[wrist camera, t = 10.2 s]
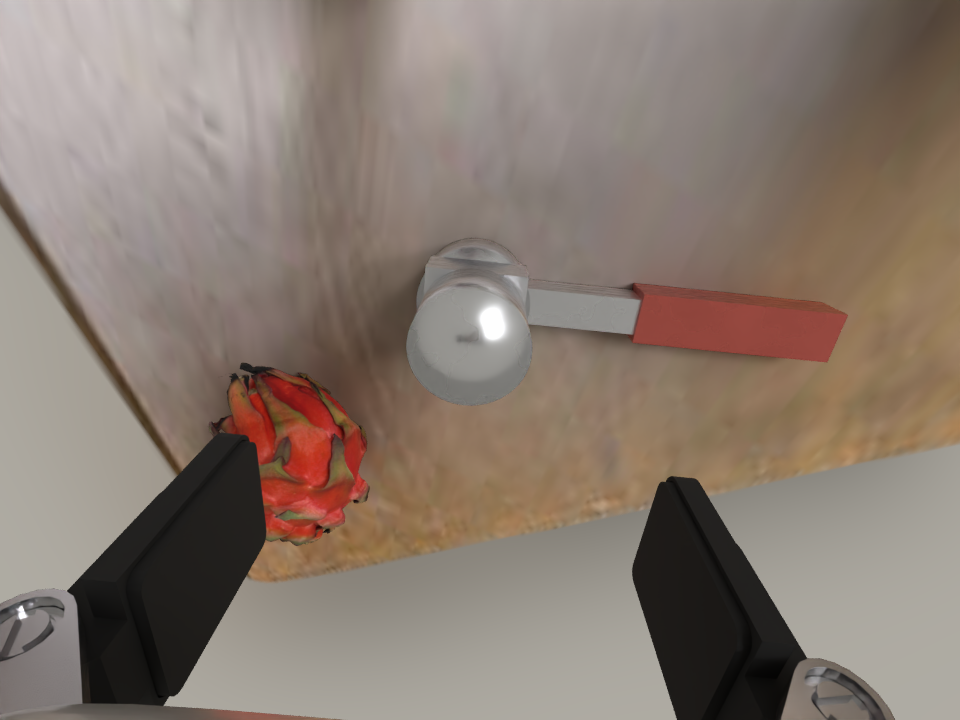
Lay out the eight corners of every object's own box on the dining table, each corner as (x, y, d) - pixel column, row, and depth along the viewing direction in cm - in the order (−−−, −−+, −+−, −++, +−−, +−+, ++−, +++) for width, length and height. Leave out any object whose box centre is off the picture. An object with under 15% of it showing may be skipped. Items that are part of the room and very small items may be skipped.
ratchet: (833, 275, 27) (903, 302, 22) (793, 370, 29) (849, 412, 25) (426, 232, 26) (412, 251, 22) (421, 333, 29) (407, 369, 24)
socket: (530, 261, 24) (541, 296, 19) (516, 355, 26) (523, 411, 21) (427, 251, 24) (408, 283, 19) (422, 345, 26) (404, 399, 21)
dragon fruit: (346, 486, 36) (290, 336, 33) (421, 508, 30) (361, 328, 27) (236, 560, 30) (155, 385, 27) (303, 604, 24) (210, 388, 21)
